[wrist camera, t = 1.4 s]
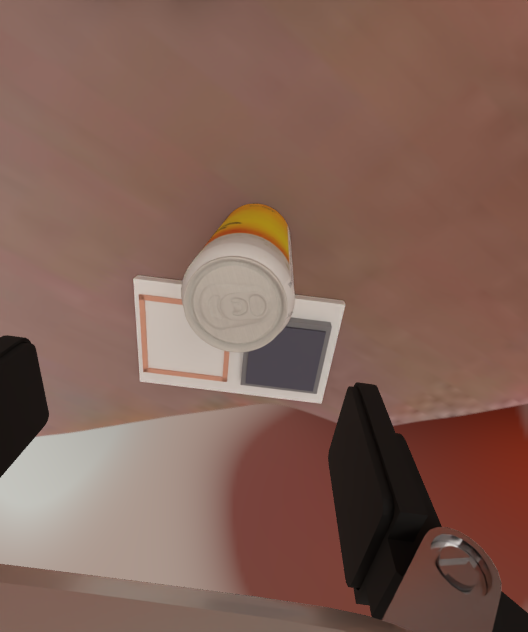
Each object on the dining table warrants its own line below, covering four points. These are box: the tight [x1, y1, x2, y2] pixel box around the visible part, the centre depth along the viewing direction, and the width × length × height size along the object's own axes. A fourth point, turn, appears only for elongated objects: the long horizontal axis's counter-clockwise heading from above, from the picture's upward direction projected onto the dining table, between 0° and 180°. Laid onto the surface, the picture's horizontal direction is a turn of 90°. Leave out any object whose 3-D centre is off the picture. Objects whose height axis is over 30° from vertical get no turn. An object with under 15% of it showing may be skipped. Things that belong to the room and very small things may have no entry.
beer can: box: [181, 204, 295, 352], centre depth 24 cm, size 6×6×15 cm
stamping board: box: [133, 275, 345, 404], centre depth 34 cm, size 20×12×2 cm, turn 83°
